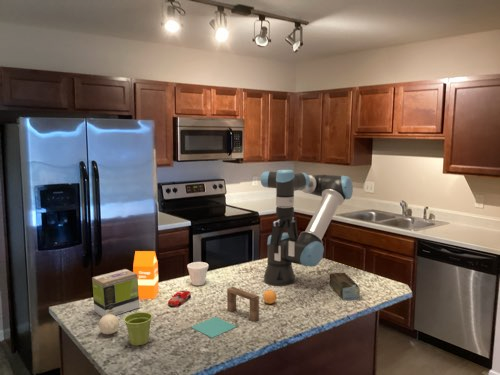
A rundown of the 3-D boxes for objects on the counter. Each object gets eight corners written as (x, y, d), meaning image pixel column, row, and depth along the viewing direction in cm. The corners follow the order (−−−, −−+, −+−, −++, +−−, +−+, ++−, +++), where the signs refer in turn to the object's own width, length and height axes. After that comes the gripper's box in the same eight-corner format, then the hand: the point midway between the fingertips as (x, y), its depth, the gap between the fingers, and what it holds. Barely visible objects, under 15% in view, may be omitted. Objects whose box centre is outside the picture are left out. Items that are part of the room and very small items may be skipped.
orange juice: (139, 292, 191) (137, 248, 188) (158, 292, 190) (157, 248, 188) (134, 298, 183) (132, 253, 180) (154, 298, 183) (152, 253, 180)
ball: (269, 299, 181) (269, 287, 181) (279, 303, 178) (279, 290, 177) (260, 303, 177) (260, 290, 177) (270, 306, 174) (270, 294, 173)
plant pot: (118, 345, 142) (117, 321, 141) (136, 333, 151) (135, 310, 150) (142, 350, 139) (141, 325, 137) (158, 338, 147) (157, 314, 146)
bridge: (232, 308, 172) (232, 286, 171) (258, 319, 162) (258, 295, 161) (227, 310, 170) (227, 288, 169) (253, 321, 160) (253, 298, 159)
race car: (176, 309, 173) (176, 299, 172) (165, 307, 175) (165, 297, 174) (193, 297, 185) (193, 288, 184) (182, 295, 187) (182, 287, 186)
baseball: (103, 340, 146) (102, 321, 145) (96, 332, 152) (96, 314, 151) (122, 334, 150) (121, 316, 149) (115, 327, 156) (114, 309, 155)
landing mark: (215, 317, 164) (215, 316, 164) (236, 326, 156) (236, 326, 156) (190, 327, 155) (190, 326, 155) (212, 338, 147) (212, 337, 147)
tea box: (127, 301, 180) (126, 267, 178) (139, 308, 173) (138, 273, 171) (93, 311, 169) (91, 276, 168) (104, 319, 162) (103, 282, 160)
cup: (183, 286, 198) (183, 266, 197) (193, 279, 207) (193, 261, 206) (203, 288, 195) (202, 269, 193) (212, 281, 204) (212, 263, 203)
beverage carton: (341, 301, 180) (342, 286, 179) (328, 285, 199) (328, 272, 198) (359, 300, 181) (360, 285, 180) (345, 284, 200) (345, 271, 199)
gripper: (275, 210, 169) (274, 265, 172) (307, 204, 184) (306, 254, 187) (261, 208, 174) (261, 261, 177) (293, 202, 190) (293, 251, 192)
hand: (284, 258), depth 182 cm, fingers open, 9 cm apart
